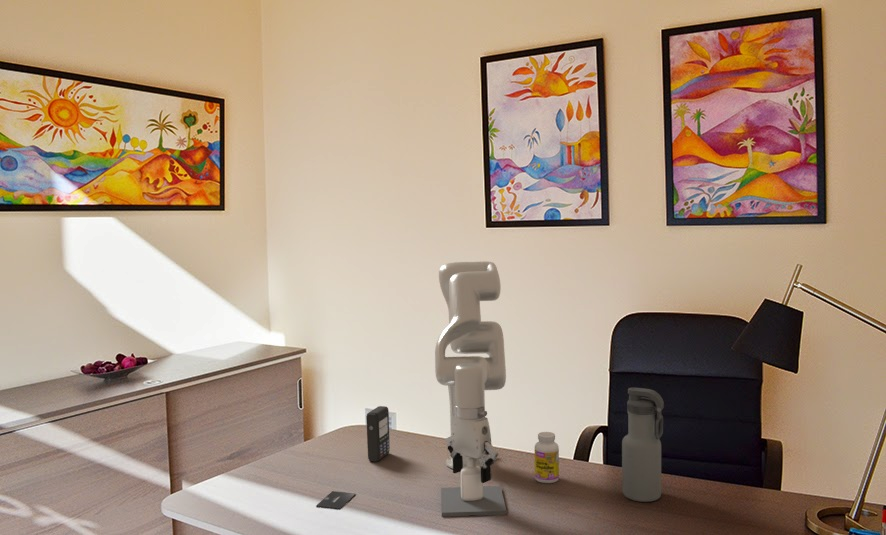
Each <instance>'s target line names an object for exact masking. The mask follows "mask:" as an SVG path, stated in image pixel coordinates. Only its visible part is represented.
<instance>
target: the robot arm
mask: <svg viewBox="0 0 886 535" xmlns="http://www.w3.org/2000/svg"><path fill="white" fill-rule="evenodd" d="M499 274H500V273H499V271H498V267H497V266H496V264H495V263H494V262H492V261H458V262H457V261H456V262H455V261H454V262H449V263H445V264H443V265H442V266H440V267H439V269H438V282H439V285H440V286H439V287H440V290H441V292H442V296H443V297H444V300H445V302H446V305H447V308H448V325H447V326H446V327H445V328H444V329H443V331H442V332H441V334H440V335H439V336H438V338H437V340H436V343H435V344H436V345H435V350H434V355H435V356H434V365H435V366H434V368H435V369H434V370H435V371H434V372H435V378H436V380H437V382H438V384H440V385H442V386H447V388H448V397H449V400H448V402H449V418H450V419H449V420H450V421H449V423H450V424H449V425H450V436H448V437H446V438H444V440H445V443H446V446H447V450H448V451H449V454H450V455H449V457H447V458H446V460H445V464H446V466H447V467H448V468H450V469H452V473H453V474H458V473H461V469H463V468H464V467H466V466H467V457H472V458H476V466H478V467H480V468H481V482H482V483H483V484H485V483H487V482H489V481H491V479H492V466H493V465H494V464H495V462H496V461H497V458H498V456H499V451H498V450H497V449H495V448H494V446H493V444H492V434H491V428H490V422H489V418H488V417H486V416H488V411H487V410H486V405H485V404H486V401H485V400H486V399H485V398H486V396H485V391H497V390H498V391H499V390H501V389H503V388H504V387H505V385H506V382H507V380H506V378H507V371H506V370H507V369H506V356H505V341H504V333H503V332H504V331H503V329H502V326H501V324H499V323H498V322H497V321H488V320H487V321H482V315H481V302H488V301H489V302H490V301H497V300H499V298H500V295H501V289H502V288H501V278H500V275H499ZM449 345H450V349H451V351H452V352H454V353H456V354H459V355H460V354H461V355H464V356H446V350H447V347H448V346H449ZM469 354H470V355H475V354H477V356H476V355H475V356H467V355H469ZM478 354H486V355H488V357H484V356H480V355H479V356H478ZM465 355H466V356H465Z"/></svg>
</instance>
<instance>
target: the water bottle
mask: <svg viewBox="0 0 886 535" xmlns="http://www.w3.org/2000/svg"><path fill="white" fill-rule="evenodd" d="M627 394H628V400H627V404H626V405H627V407H626V408H627V409H626V411H627V412H626V413H627V416H628V422H627V423H628V424H627V425H628V433H627V434H626V435H625V436H624V437H623V438H622V440H621V457H622V458H621V472H622V475H621V478H622V480H621V481H622V482H621V485H622V494H623V496H624V497H626V498H627V499H629V500H631V501H635V502H640V503H651V502H655V501H657V500H659V499H660V498H661V497H662V496H661V495H662V442H661V440H660V439H661V437H662V436H663V434H664V416H663V415H662V410H663V409H664V408H665V405H664V404H665V402H664V399H663V397H662V396H661V394H659V393H658V392H657V391H656V390H653V389H650V388H643V387H629V388H627ZM655 415H656V418H655ZM655 419H656V420H655ZM659 426H660V427H659Z"/></svg>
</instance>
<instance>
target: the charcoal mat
mask: <svg viewBox="0 0 886 535" xmlns="http://www.w3.org/2000/svg"><path fill="white" fill-rule="evenodd" d="M440 499H441V501H440V502H441V517H442V516H445V517H469V515H477V516H501V515H502V516H504V515H507V507H506V503H505V499H504V495H503V491H502V487H501V485H490V486H489V485H487V486H486V485H485V486H484V485H483V498H482V499H479V500H475V501H464V500H463V499H462V498H461V486H451V487H450V486H449V487H440Z"/></svg>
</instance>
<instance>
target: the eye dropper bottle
mask: <svg viewBox="0 0 886 535" xmlns="http://www.w3.org/2000/svg"><path fill="white" fill-rule="evenodd" d="M483 486H484V483H482V482H481V468H480V467H478V466H476V458H472V457H467V466H466V467H464V468H463V469H461V471H460V487H461V498H462V499H463V500H464V501H475V500H479V499H482V498H483Z"/></svg>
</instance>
